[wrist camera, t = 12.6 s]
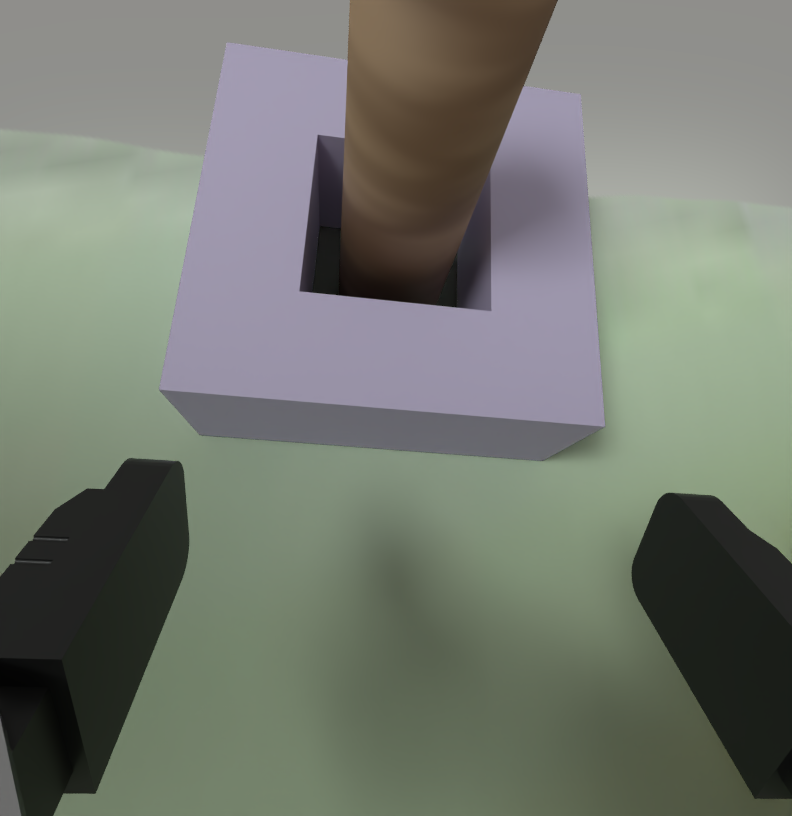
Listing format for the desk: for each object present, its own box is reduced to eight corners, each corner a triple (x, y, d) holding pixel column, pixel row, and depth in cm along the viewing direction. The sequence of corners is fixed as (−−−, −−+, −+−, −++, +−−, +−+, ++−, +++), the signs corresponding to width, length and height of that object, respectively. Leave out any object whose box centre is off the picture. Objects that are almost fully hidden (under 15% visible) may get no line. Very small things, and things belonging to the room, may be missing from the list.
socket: (199, 435, 20) (158, 389, 15) (247, 149, 24) (226, 42, 19) (542, 460, 21) (605, 426, 16) (532, 186, 25) (580, 94, 20)
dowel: (334, 338, 21) (345, -51, 8) (342, 251, 23) (363, -207, 9) (432, 347, 22) (595, -8, 9) (435, 262, 23) (581, -163, 10)
